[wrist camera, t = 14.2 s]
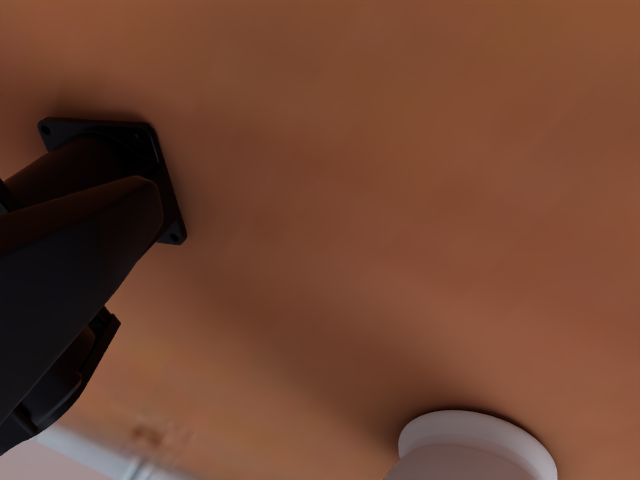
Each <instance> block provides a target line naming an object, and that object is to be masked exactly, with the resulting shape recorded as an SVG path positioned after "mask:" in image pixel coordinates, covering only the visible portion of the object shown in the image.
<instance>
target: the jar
mask: <svg viewBox="0 0 640 480" xmlns="http://www.w3.org/2000/svg"><path fill="white" fill-rule="evenodd" d="M398 450H399V456H400V460H399V461H398V462H397V463H396V464H395V465H394V466H393V468H392V469H391V470H390V471H389V472H388V474H387V475H386V476H385V478H384V479H383V480H557V469H556V465H555V463H554V460H553V458H552V457H551V455H550V454H549V452H548V451H547V450H546V448H545V447H544V446H543V445H542V444H541V443H540V442H539V441H538V440H537V439H535V438H534V437H533V436H531V435H530V434H528V433H527V432H526V431H524V430H522V429H521V428H519V427H517V426H515V425H513V424H511V423H509V422H507V421H504V420H501V419H499V418H496V417H493V416H489V415H485V414H481V413H477V412H470V411H461V410H444V411H437V412H431V413H428V414H425V415H422V416H419V417H417V418H415V419H414V420H412V421H411V422H409V423H408V424H407V425H406V426H405V428H404V429H403V430H402V432H401V434H400V437H399V442H398Z"/></svg>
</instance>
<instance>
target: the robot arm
mask: <svg viewBox="0 0 640 480" xmlns="http://www.w3.org/2000/svg"><path fill="white" fill-rule="evenodd" d="M37 127H38V131H39V133H40V135H41V137H42V140H43V142H44V144H45V146H46V149H47V151H48V153H46V154H45V155H43V156H42V157H40V158H39V159H37V160H36V161H34V162H33V163H31V164H30V165H28V166H27V167H25V168H24V169H22V170H21V171H19V172H17V173H16V174H14V175H13V176H11V177H10V178H8V179H7V180H5V181H4V182H3V181H2V180H1V179H0V456H1V455H3V454H4V453H5V452H7V451H8V450H9V449H11V448H13V447H14V446H16V445H17V444H19V443H21V442H23V441H26V440H28V439H30V438H32V437H34V436H36V435H37V434H39V433H41V432H42V431H43V430H45V429H46V428H48V427H49V426H51V425H52V424H53V423H54V422H55V421H57V420H58V419H59V418H60V417H61V416H62V415H63V414H64V413H65V412H66V411H67V410H68V409H69V408H70V407H71V406H72V405H73V404H74V403H75V402H76V400H77V399H78V398H79V396H80V395H81V393H82V392H83V390H84V389H85V387H86V385H87V383H88V382H89V380H90V378H91V376H92V375H93V373H94V371H95V369H96V367H97V366H98V364H99V362H100V360H101V359H102V357H103V355H104V353H105V351H106V350H107V348H108V346H109V344H110V343H111V341H112V339H113V337H114V335H115V334H116V332H117V330H118V328H119V326H120V325H121V322H120V321H119V320H118V319H117V317H116V316H115V315H114V314H111V313H110V312H109V311H108V310H107V308H106V307H105V306H104V305H105V304H106V302H107V301H108V300H109V299H110V298H111V296H112V295H113V294H114V293H115V292H116V290H117V289H118V288H119V286H120V285H121V284H122V282H123V281H124V280H125V278H126V277H127V275H128V274H129V272H130V271H131V269H132V268H133V267H134V265H135V264H136V262H137V261H138V260H139V259H140V258H141V257H142V256H143V255H144V254H145V253H146V252H147V251H148V250H149V249H150V248H151V247H152V246H153V245H154V244H155V243H156V242H158V243H165V244H172V245H181V244H182V243H183V242H184V241H185V240H186V238H187V232H186V229H185V226H184V223H183V219H182V216H181V213H180V210H179V206H178V203H177V200H176V197H175V194H174V190H173V187H172V184H171V181H170V177H169V174H168V171H167V168H166V164H165V161H164V158H163V155H162V151H161V148H160V145H159V142H158V138H157V135H156V133H155V130H154V129H153V128H152V127H151V126H150V125H149V124H147V123H141V122H124V121H106V120H88V119H71V118H53V117H47V118H44V119H42V120H41V121H39V122H38V124H37ZM142 132H143V133H144V134H145V136H146V137H145V136H144V135H143V134H142Z"/></svg>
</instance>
